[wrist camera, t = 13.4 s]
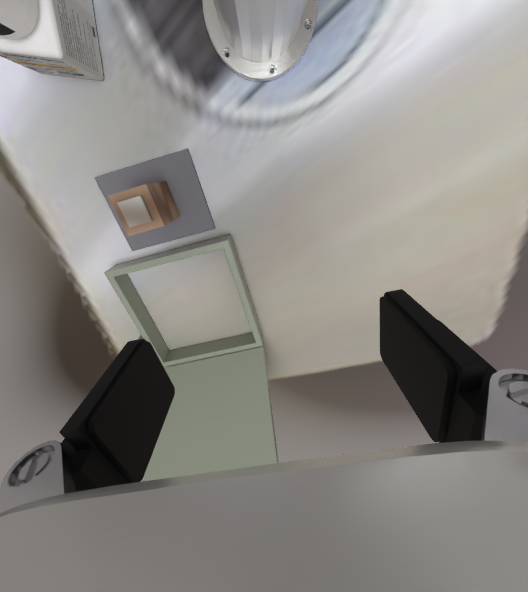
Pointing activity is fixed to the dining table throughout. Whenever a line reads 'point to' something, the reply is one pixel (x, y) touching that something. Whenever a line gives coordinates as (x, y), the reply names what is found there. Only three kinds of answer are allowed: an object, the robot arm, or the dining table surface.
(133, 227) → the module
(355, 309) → the dining table surface
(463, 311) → the dining table surface
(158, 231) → the mat
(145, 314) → the case
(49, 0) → the container
